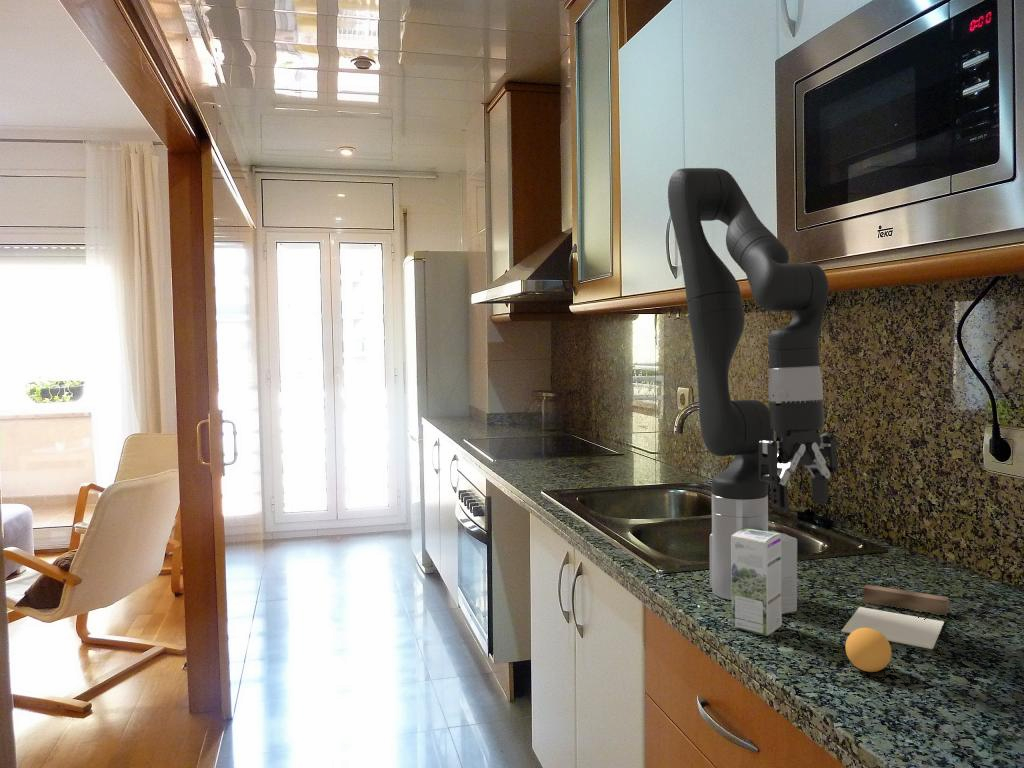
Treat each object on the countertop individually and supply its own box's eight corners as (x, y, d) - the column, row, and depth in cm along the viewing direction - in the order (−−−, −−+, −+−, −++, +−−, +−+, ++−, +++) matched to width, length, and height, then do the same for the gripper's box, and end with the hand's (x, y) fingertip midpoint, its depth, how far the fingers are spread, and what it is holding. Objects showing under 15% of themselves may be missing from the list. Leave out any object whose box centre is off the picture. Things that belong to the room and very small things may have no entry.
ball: (836, 665, 103) (836, 624, 103) (868, 658, 105) (868, 619, 105) (867, 682, 98) (867, 639, 98) (901, 675, 100) (901, 633, 100)
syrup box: (782, 626, 118) (782, 532, 117) (766, 637, 113) (766, 540, 112) (747, 617, 121) (747, 526, 121) (730, 628, 117) (729, 534, 116)
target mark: (841, 631, 115) (841, 630, 115) (859, 608, 124) (859, 606, 124) (932, 649, 108) (932, 647, 108) (944, 622, 117) (944, 621, 117)
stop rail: (863, 602, 127) (863, 587, 127) (865, 599, 129) (865, 584, 128) (946, 616, 120) (946, 600, 120) (948, 612, 122) (948, 597, 121)
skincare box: (752, 603, 128) (751, 532, 127) (773, 600, 129) (772, 529, 128) (776, 615, 122) (776, 540, 121) (798, 611, 123) (798, 537, 123)
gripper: (807, 395, 121) (812, 498, 121) (741, 400, 114) (747, 509, 114) (849, 395, 115) (854, 504, 115) (782, 400, 108) (787, 516, 108)
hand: (800, 506), depth 115 cm, fingers open, 8 cm apart
